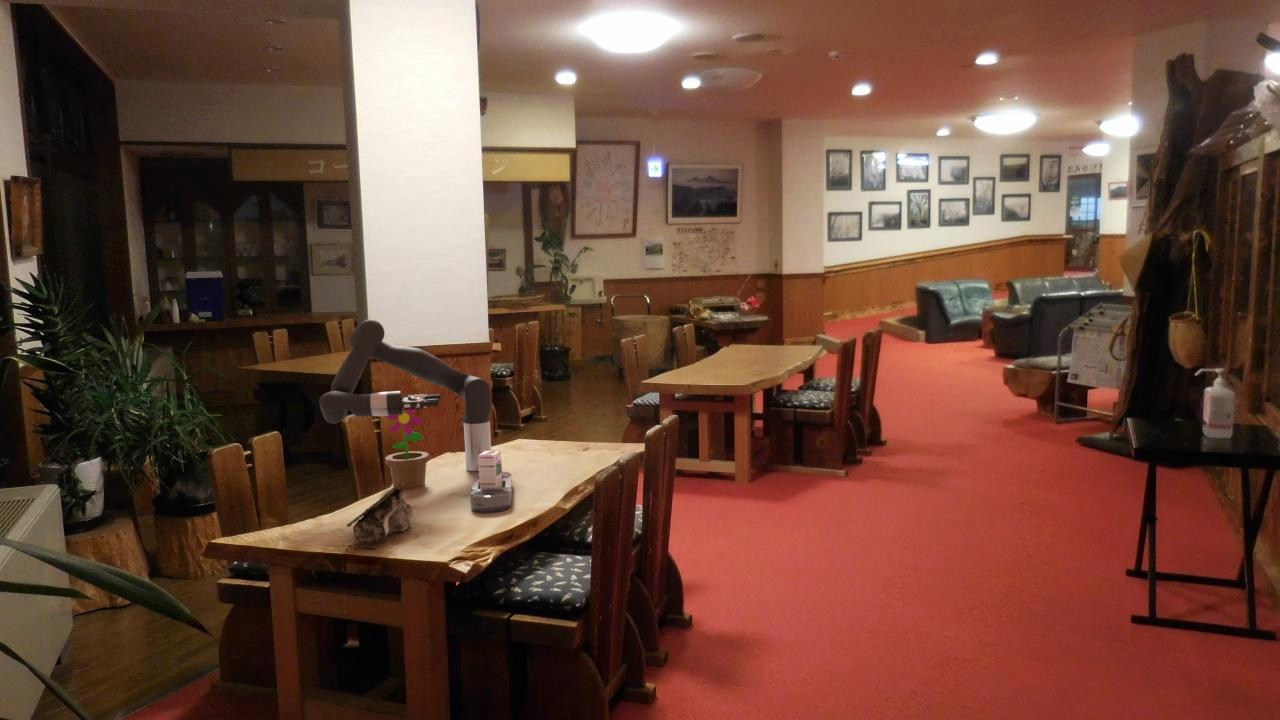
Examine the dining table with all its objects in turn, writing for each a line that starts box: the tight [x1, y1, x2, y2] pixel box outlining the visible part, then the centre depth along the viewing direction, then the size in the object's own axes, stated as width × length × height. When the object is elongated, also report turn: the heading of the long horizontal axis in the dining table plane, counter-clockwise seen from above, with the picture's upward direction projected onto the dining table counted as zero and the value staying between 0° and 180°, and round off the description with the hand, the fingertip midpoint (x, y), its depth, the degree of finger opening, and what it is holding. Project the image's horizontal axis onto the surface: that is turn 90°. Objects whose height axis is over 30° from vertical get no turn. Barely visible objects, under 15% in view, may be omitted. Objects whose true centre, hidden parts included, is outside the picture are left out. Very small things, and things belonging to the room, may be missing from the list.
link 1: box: [471, 470, 513, 491], centre depth 292 cm, size 24×12×4 cm, turn 7°
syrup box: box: [478, 450, 503, 489], centre depth 285 cm, size 6×6×14 cm
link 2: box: [469, 485, 513, 514], centre depth 280 cm, size 24×12×4 cm, turn 7°
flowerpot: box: [384, 406, 430, 491], centre depth 302 cm, size 14×14×30 cm
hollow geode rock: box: [345, 483, 414, 546], centre depth 250 cm, size 28×13×15 cm
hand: (439, 400), depth 286 cm, fingers open, 8 cm apart
